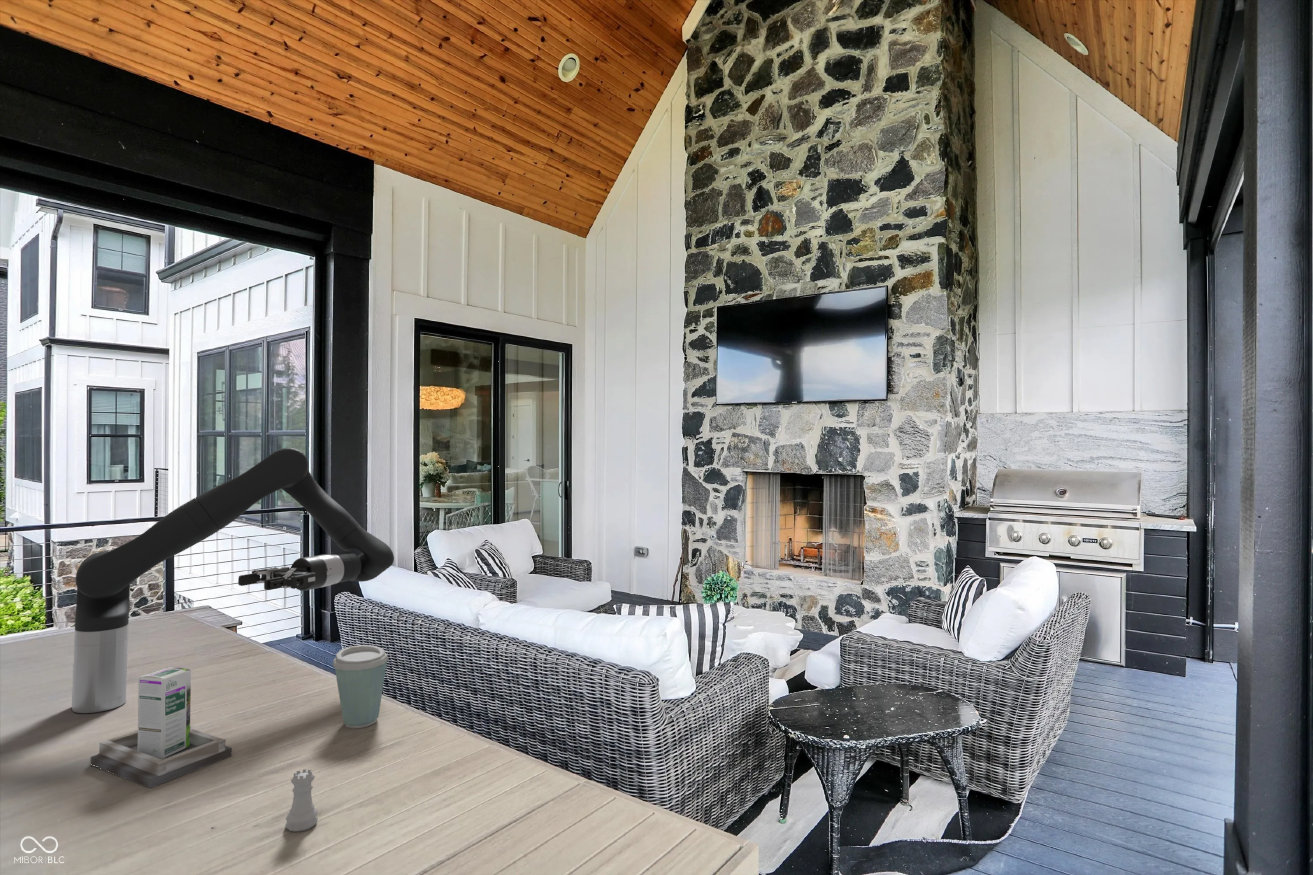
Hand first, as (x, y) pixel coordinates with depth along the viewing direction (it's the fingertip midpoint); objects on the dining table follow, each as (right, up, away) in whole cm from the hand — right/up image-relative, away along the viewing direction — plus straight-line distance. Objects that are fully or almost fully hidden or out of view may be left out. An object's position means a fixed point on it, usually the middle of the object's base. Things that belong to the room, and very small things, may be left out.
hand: (252, 582), depth 150 cm
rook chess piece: (+32, -28, -43) cm, 61 cm away
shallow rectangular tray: (-3, -28, -22) cm, 36 cm away
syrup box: (-3, -26, -22) cm, 35 cm away
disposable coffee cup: (+24, -29, -4) cm, 38 cm away
